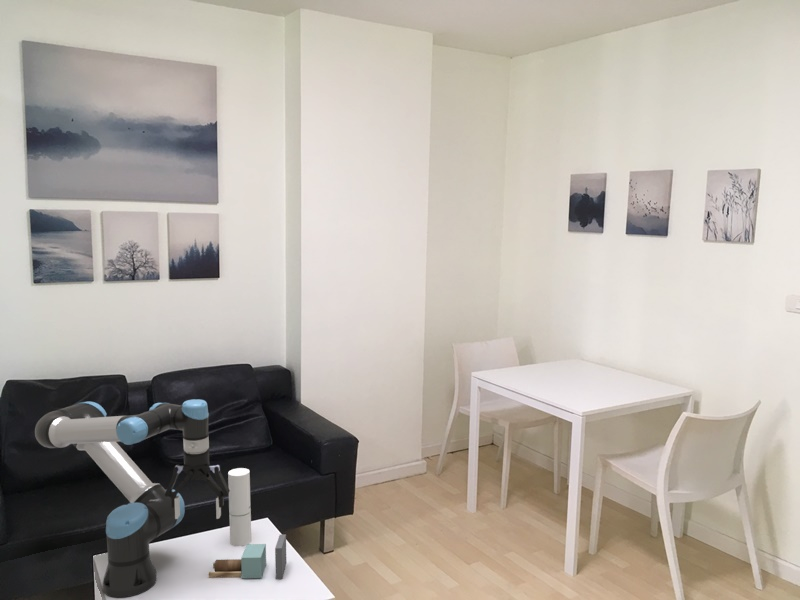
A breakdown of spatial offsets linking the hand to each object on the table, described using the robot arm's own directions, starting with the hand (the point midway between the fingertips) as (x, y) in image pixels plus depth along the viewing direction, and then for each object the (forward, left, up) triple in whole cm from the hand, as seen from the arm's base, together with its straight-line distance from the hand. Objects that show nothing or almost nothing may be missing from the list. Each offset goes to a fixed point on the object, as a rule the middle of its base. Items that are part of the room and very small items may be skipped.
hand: (198, 517), depth 202 cm
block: (+17, 0, -18) cm, 25 cm away
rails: (+9, 0, -18) cm, 20 cm away
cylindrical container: (+9, +20, -18) cm, 28 cm away
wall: (+26, 0, -18) cm, 31 cm away
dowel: (+9, 0, -18) cm, 21 cm away
